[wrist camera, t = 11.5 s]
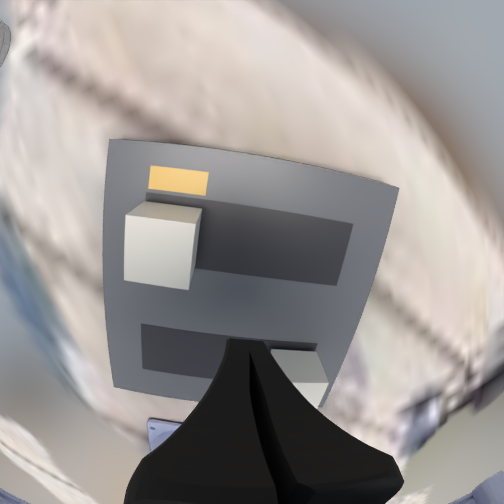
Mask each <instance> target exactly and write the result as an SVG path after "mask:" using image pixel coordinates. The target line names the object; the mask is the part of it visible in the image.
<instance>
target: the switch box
mask: <svg viewBox="0 0 504 504" xmlns="http://www.w3.org/2000/svg"><path fill="white" fill-rule="evenodd" d="M398 191H399V188H398V187H395V186H392V185H389V184H386V183H383V182H379V181H375V180H371V179H368V178H364V177H360V176H356V175H352V174H348V173H344V172H339V171H335V170H331V169H326V168H322V167H317V166H313V165H308V164H303V163H298V162H293V161H288V160H283V159H278V158H272V157H266V156H261V155H255V154H249V153H243V152H236V151H230V150H223V149H216V148H208V147H200V146H192V145H183V144H174V143H164V142H153V141H141V140H127V139H109V147H108V156H107V166H106V177H105V191H104V210H103V285H104V304H105V318H106V329H107V339H108V348H109V356H110V364H111V371H112V378H113V384H114V387H116V388H121V389H126V390H130V391H135V392H141V393H146V394H151V395H157V396H163V397H169V398H176V399H183V400H190V401H198V402H200V400H201V399H202V397H203V396H204V394H205V393H206V391H207V390H208V388H209V386H210V384H211V383H212V381H213V379H214V377H215V375H216V373H217V371H218V369H219V366H220V364H221V362H222V359H223V356H224V353H225V346H226V340H228V339H229V338H235V339H245V340H257V341H263V342H264V343H265V344H266V346H267V348H268V349H269V351H270V352H271V349H279V350H294V351H313V352H317V354H318V356H319V359H320V361H321V364H322V366H323V369H324V372H325V374H326V377H327V379H328V382H329V384H328V386H327V388H326V391H325V393H324V395H323V397H322V399H321V402H320V404H319V406H318V407H323V405H324V403H325V401H326V399H327V397H328V394H329V392H330V390H331V388H332V386H333V384H334V381H335V379H336V377H337V375H338V372H339V370H340V368H341V365H342V363H343V361H344V358H345V356H346V354H347V351H348V349H349V346H350V344H351V341H352V339H353V336H354V334H355V331H356V329H357V326H358V323H359V321H360V318H361V315H362V313H363V310H364V307H365V304H366V301H367V299H368V296H369V293H370V290H371V287H372V284H373V281H374V278H375V275H376V272H377V268H378V265H379V262H380V259H381V255H382V252H383V249H384V245H385V242H386V238H387V235H388V231H389V227H390V224H391V220H392V216H393V212H394V208H395V204H396V200H397V196H398ZM144 201H147V202H155V203H163V204H171V205H179V206H186V207H194V208H201V209H202V213H201V221H200V229H199V237H198V246H197V254H196V263H195V267H194V271H193V275H192V279H191V283H190V287H189V290H184V289H177V288H170V287H164V286H157V285H151V284H144V283H138V282H132V281H126V280H124V241H125V218H126V214H128V213H129V212H130V211H132V210H133V209H134V208H136V207H137V206H138V205H140V204H141V203H143V202H144Z"/></svg>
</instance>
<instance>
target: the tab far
mask: <svg viewBox="0 0 504 504" xmlns="http://www.w3.org/2000/svg"><path fill="white" fill-rule="evenodd" d="M271 354H272V356H273V357H274V359H275V360H276V362H277V363H278V365H279V366H280V367H281V369H282V370H283V372H284V373H285V374H286V376H287V377H288V378H289V380H290V381H291V382H292V383H293V385H294V386H295V387H296V388H297V389H298V390H299V392H300V393H301V394H302V395H303V396H304V397H305V398H306V399H307V400H308V401H309V402H310V403H311V404H312V405H313V406H314V407H315V408H316V409H317V408H318V406H319V404H320V402H321V399H322V397H323V395H324V393H325V391H326V388H327V386H328V384H329V382H328V379H327V377H326V374H325V372H324V369H323V366H322V364H321V361H320V359H319V356H318V354H317V352H313V351H294V350H279V349H271Z"/></svg>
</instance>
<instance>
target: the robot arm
mask: <svg viewBox="0 0 504 504" xmlns="http://www.w3.org/2000/svg"><path fill="white" fill-rule="evenodd" d="M147 428H148V436H149V444H150V451H151V452H150V453H149V454H148V455H147V456H145V457H144V458H143V459H142V460H141V462H140V463H139V465H138V467H137V468H136V470H135V472H134V473H133V475H132V477H131V479H130V482H129V484H128V487H127V489H126V494H125V499H124V504H385V503H386V502H387V501H389V500H390V499H391V498H392V497H393V496H394V495H395V494H396V493H397V492H398V491H399V490H400V489H401V488H402V486H403V483H404V480H403V477H402V475H401V472H400V470H399V468H398V466H397V464H396V462H395V460H394V458H393V456H391V455H388V454H386V453H384V452H382V451H380V450H377V449H375V448H373V447H371V446H369V445H367V444H365V443H363V442H362V441H360V440H358V439H357V438H355V437H353V436H351V435H350V434H348V433H347V432H345V431H344V430H342V429H341V428H340V427H338V426H337V425H335V424H334V423H333V422H331V421H330V420H329V419H328V418H326V417H325V416H324V415H323V414H322V413H320V412H319V411H318V410H317V409H316V408H315V407H314V406H313V405H312V404H311V403H310V402H309V401H308V400H307V399H306V398H305V397H304V396H303V395H302V394H301V393H300V392H299V390H298V389H297V388H296V387H295V386H294V385H293V383H292V382H291V381H290V380H289V378H288V377H287V376H286V374H285V373H284V372H283V370H282V369H281V367H280V366H279V365H278V363H277V362H276V360H275V359H274V357H273V356H272V354H271V352H270V351H269V349H268V348H267V346H266V344H265V343H264V342H263V341H257V340H245V339H235V338H229V339H228V340H226V346H225V353H224V356H223V359H222V362H221V364H220V366H219V369H218V371H217V373H216V375H215V377H214V379H213V381H212V383H211V384H210V386H209V388H208V390H207V391H206V393H205V394H204V396H203V397H202V399H201V400H200V402H199V403H198V405H197V406H196V407H195V409H194V410H193V411H192V412H191V414H190V415H189V416H188V417H187V419H186V420H185V421H184V422H183V423H182V424H179V423H172V422H166V421H160V420H154V419H149V420H148V422H147ZM0 504H30V503H28V502H26V501H24V500H22V499H20V498H18V497H16V496H14V495H12V494H10V493H8V492H6V491H4V490H3V489H1V488H0ZM449 504H504V472H503V471H499V472H498V473H496V474H494V475H493V476H491V477H489V478H488V479H486V480H485V481H483V482H482V483H481V484H479V485H478V486H477V487H476V488H475V489H474V490H473V491H472V492H471V493H469V494H467V495H465V496H463V497H461V498H459V499H457V500H455V501H454V502H451V503H449Z"/></svg>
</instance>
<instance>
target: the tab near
mask: <svg viewBox="0 0 504 504" xmlns="http://www.w3.org/2000/svg"><path fill="white" fill-rule="evenodd" d="M201 213H202V209H201V208H194V207H186V206H179V205H171V204H163V203H155V202H147V201H144V202H143V203H141V204H140V205H138V206H137V207H136V208H134V209H133V210H132V211H130V212H129V213H128V214H126V218H125V241H124V280H126V281H132V282H138V283H144V284H151V285H157V286H164V287H170V288H177V289H184V290H189V287H190V283H191V279H192V275H193V271H194V267H195V263H196V254H197V246H198V237H199V229H200V221H201Z"/></svg>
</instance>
